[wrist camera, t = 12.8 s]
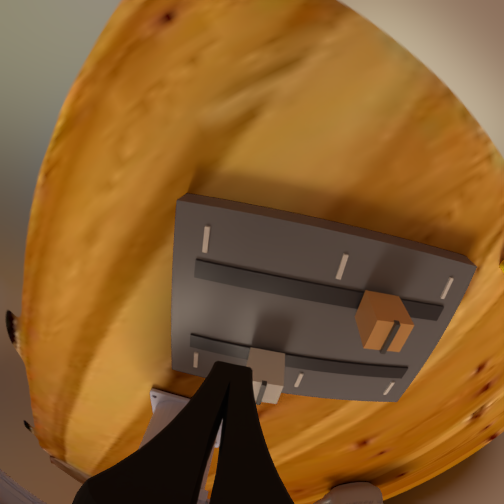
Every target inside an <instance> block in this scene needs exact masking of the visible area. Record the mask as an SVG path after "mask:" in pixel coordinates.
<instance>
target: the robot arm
mask: <svg viewBox="0 0 504 504" xmlns="http://www.w3.org/2000/svg"><path fill="white" fill-rule="evenodd" d="M150 397H151V404H152V410H153V416H152V418H151V420H150V423H149V425H148V427H147V430H146V432H145V435H144V437H143V439H142V442H141V444H140V447H139V449H138V450H137V451H136V452H134V453H133V454H131V455H130V456H128V457H127V458H125V459H123V460H122V461H120V462H119V463H117V464H116V465H114V466H112V467H110V468H109V469H107V470H105V471H103V472H101V473H99V474H97V475H95V476H93V477H91V478H89V479H88V480H87V481H86V482H85V483H84V484H83V485H82V486H81V488H80V489H79V491H78V492H77V494H76V496H75V498H74V501H73V503H72V504H294V502H293V500H292V499H291V497H290V495H289V494H288V492H287V490H286V488H285V486H284V484H283V482H282V480H281V479H280V477H279V475H278V472H277V470H276V468H275V466H274V463H273V461H272V459H271V456H270V453H269V451H268V448H267V445H266V442H265V439H264V436H263V433H262V429H261V426H260V422H259V418H258V413H257V408H256V403H255V398H254V390H253V370H252V369H251V367H246V366H241V365H236V364H231V363H227V362H222V361H216V362H215V363H214V365H213V367H212V369H211V371H210V372H209V374H208V376H207V377H206V379H205V380H204V382H203V383H202V385H201V386H200V388H199V389H198V390H197V392H196V393H195V394H194V396H193V397H192V398H191V399H189V398H185V397H181V396H178V395H174V394H171V393H167V392H164V391H160V390H157V389H151V390H150ZM219 445H220V446H219ZM214 447H219V455H218V463H217V470H216V475H215V480H214V484H213V489H212V493H211V498H210V499H207V495H208V491H206V490H204V489H205V485H206V480H207V476H208V472H209V468H210V464H211V460H212V455H213V451H214ZM0 504H46V503H45V502H43V501H42V500H40V499H39V498H37V497H36V496H34V495H33V494H32V493H30V492H29V491H27V490H26V489H25V488H23V487H22V486H20V485H19V484H18V483H16V482H15V481H14V480H13V479H11V478H10V476H8V475H7V474H6V473H5V472H3V471H2V470H1V469H0Z"/></svg>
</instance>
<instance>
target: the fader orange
mask: <svg viewBox="0 0 504 504" xmlns="http://www.w3.org/2000/svg"><path fill="white" fill-rule="evenodd" d="M355 320H356V323H357V327H358V330H359V334H360V337H361V341H362V345H363V348H365V349H373V350H379V351H380V354H385V353H386V351H393V352H400V350H401V349H402V347H403V345H404V343H405V342H406V340H407V338H408V336H409V334H410V333H411V331H412V329H413V327H414V323H413V321H412V319H411V318H410V316H409V314H408V312H407V310H406V308H405V306H404V304H403V303H402V301H401V299H400V297H399V296H395V295H390V294H384V293H379V292H373V291H368V290H365V293H364V295H363V298H362V300H361V303H360V305H359V307H358V310H357V312H356V315H355Z"/></svg>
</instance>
